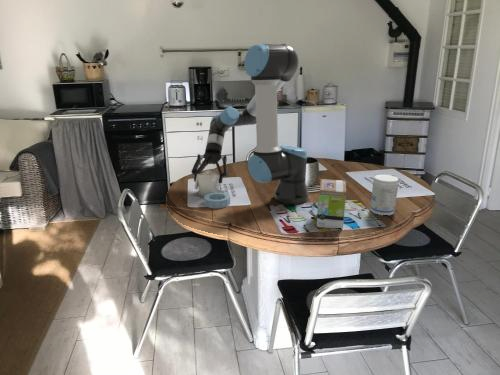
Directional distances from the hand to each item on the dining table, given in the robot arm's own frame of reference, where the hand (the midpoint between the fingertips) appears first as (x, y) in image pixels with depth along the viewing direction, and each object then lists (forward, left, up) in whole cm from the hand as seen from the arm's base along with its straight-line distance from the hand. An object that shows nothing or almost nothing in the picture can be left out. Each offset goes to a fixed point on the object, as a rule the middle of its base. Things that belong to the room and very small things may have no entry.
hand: (206, 188), depth 185 cm
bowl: (-9, +7, -4) cm, 12 cm away
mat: (+1, -3, -4) cm, 5 cm away
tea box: (-57, +4, -4) cm, 57 cm away
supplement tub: (-74, -14, -4) cm, 76 cm away
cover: (+1, -3, -3) cm, 5 cm away
